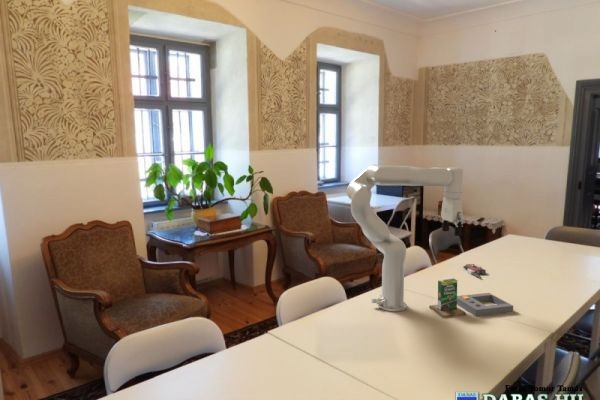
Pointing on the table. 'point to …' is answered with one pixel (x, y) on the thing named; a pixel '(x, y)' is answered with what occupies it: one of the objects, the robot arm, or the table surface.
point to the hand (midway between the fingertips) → (451, 233)
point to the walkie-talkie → (474, 270)
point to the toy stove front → (479, 309)
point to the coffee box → (447, 294)
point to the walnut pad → (447, 311)
